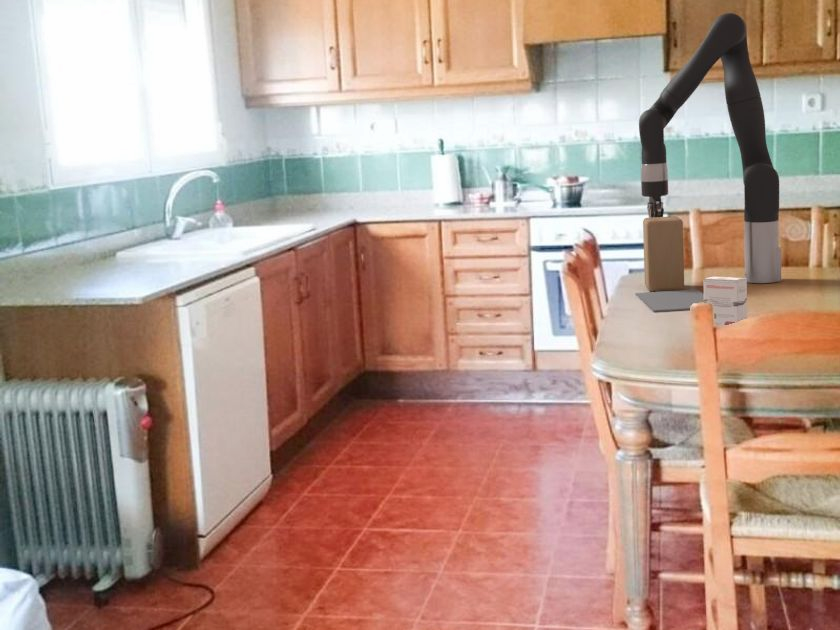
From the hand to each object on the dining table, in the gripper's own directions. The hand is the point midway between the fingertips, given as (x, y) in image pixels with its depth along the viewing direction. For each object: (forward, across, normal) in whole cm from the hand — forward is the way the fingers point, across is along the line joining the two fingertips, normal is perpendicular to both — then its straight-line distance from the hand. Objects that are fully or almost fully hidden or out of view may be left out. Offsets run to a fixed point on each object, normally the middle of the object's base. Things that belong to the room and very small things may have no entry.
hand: (656, 238), depth 307 cm
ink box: (+13, -70, -2) cm, 72 cm away
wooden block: (+13, -10, 0) cm, 17 cm away
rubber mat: (+13, -31, +1) cm, 34 cm away
